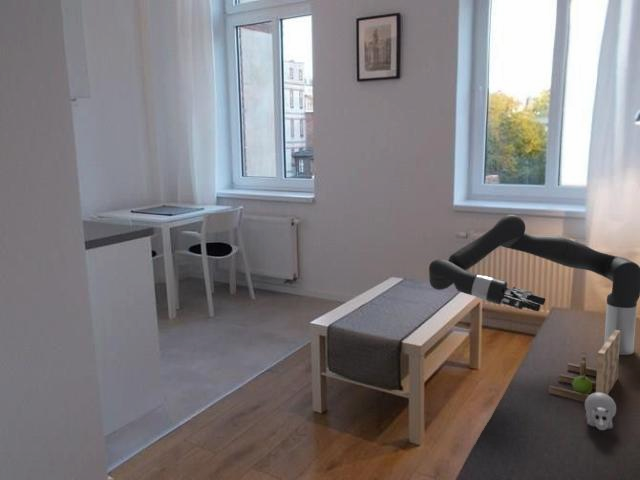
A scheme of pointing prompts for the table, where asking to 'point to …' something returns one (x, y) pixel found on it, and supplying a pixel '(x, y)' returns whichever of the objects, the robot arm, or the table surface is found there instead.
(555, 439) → the table surface
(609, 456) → the table surface
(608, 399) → the chubby cartoon animal
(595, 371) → the lane rack
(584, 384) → the snail figurine
